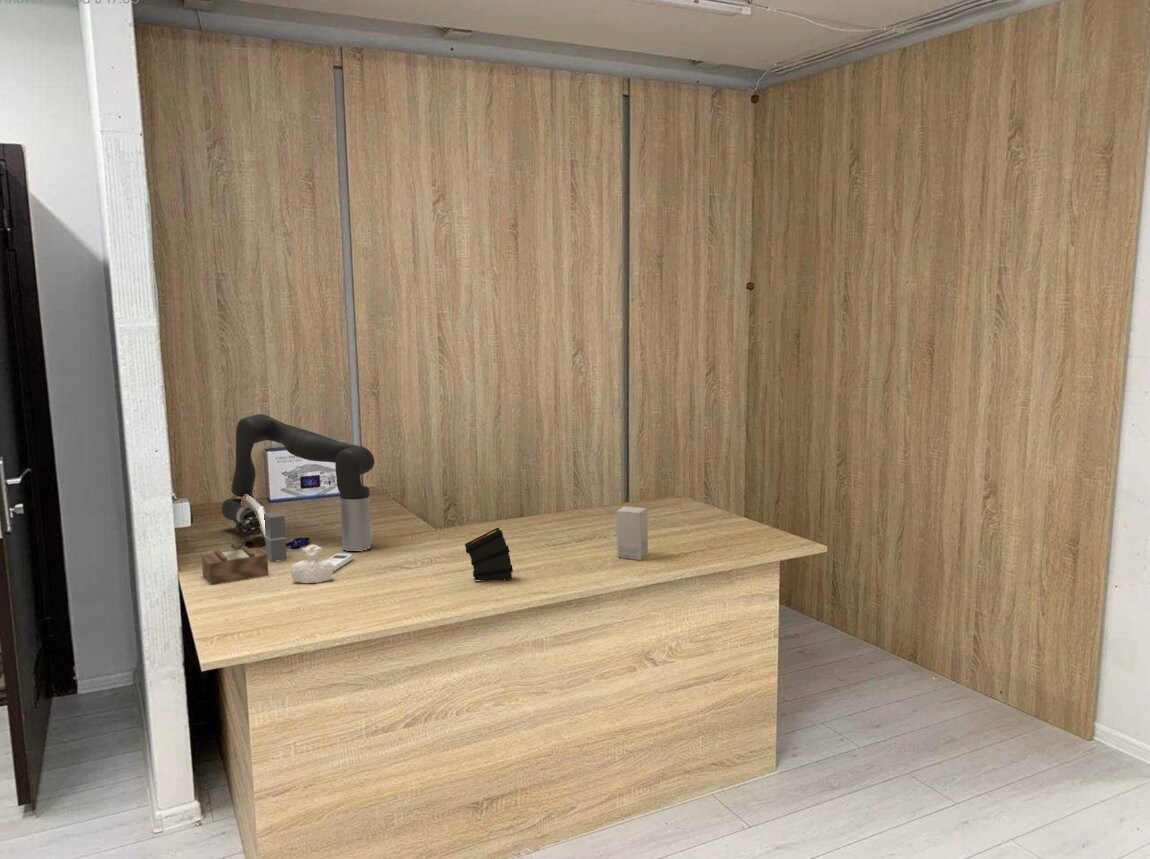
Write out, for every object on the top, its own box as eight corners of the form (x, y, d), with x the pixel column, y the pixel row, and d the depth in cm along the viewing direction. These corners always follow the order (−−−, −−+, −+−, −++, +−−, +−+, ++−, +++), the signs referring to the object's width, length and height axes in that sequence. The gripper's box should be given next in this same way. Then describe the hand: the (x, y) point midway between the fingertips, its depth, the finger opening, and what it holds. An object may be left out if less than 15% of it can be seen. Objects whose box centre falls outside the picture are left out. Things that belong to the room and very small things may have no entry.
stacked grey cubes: (266, 557, 277) (263, 513, 275) (281, 555, 279) (278, 511, 277) (271, 562, 272) (269, 517, 270) (286, 559, 274) (284, 515, 272)
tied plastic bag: (334, 586, 255) (335, 550, 260) (332, 577, 248) (333, 540, 254) (291, 589, 253) (293, 552, 258) (288, 579, 246) (290, 542, 252)
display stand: (258, 566, 267) (257, 544, 266) (268, 574, 259) (267, 551, 258) (203, 575, 258) (201, 552, 257) (210, 584, 250) (209, 560, 249)
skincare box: (648, 556, 278) (649, 507, 275) (641, 561, 272) (641, 512, 270) (623, 553, 281) (624, 505, 279) (615, 558, 275) (616, 509, 273)
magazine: (523, 574, 253) (500, 529, 250) (482, 595, 253) (458, 550, 250) (522, 570, 257) (499, 526, 254) (481, 591, 256) (458, 546, 253)
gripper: (228, 509, 291) (240, 519, 278) (271, 504, 299) (286, 513, 286) (229, 531, 292) (242, 542, 279) (272, 525, 300) (287, 536, 287)
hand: (264, 528), depth 283 cm, fingers open, 8 cm apart
